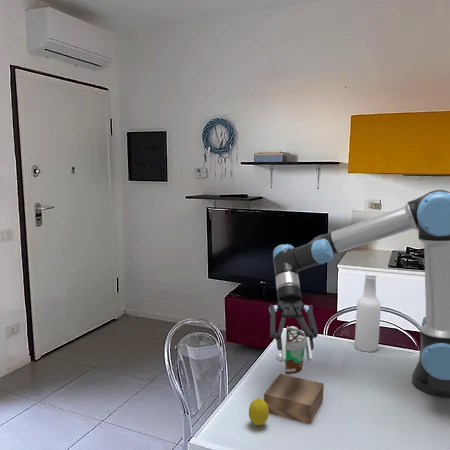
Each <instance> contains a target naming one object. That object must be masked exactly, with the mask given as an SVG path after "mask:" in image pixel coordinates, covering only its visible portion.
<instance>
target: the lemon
mask: <svg viewBox="0 0 450 450" xmlns="http://www.w3.org/2000/svg"><path fill="white" fill-rule="evenodd" d="M269 414H270V413H269V409H268V405H267V403H266V402H265V401H264V399H262V398H259V397H258V398H255V399H253V400H252V401H251V402H250V404H249V408H248V417H249V420H250V422H252V423H253V424H254V425H255V426H256V425H257V426H261V425H264V424H265V423H267V422H268V419H269V416H270V415H269Z"/></svg>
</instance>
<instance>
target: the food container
mask: <svg viewBox="0 0 450 450" xmlns="http://www.w3.org/2000/svg"><path fill="white" fill-rule="evenodd" d="M300 330H301V329H298V330H297V329H294V328H287V327H286V330H285V331H286V336H285V343H286V361H285V362H284V365H285V366H284V367H285V369H284V371H285V372H284V373H285V374H284V375H293V374H298V373H300V372H302V370H303V366H304V356H305V350H306V346H307V344H308V342H307V337H306V335H305V333H304V332H303V330H302V331H300Z"/></svg>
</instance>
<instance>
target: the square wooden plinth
mask: <svg viewBox="0 0 450 450" xmlns="http://www.w3.org/2000/svg"><path fill="white" fill-rule="evenodd" d="M324 386H325V383H323V382H319V381H313V380H309V379H306V378H302V377H296V376H292V375H290V374H284V373H279V374H278V375H277V377H276V378H275V379H274V380H273V382H272V383H271V384H270V385H269V387H268V388H267V389H266V391H265V392H264V393H263V400H264V401H265V402H266V403H267V405H268V409H269V414H271V415H273V416H278V417H280V418H285V419H289V420H293V421H296V422H300V423H302V424H303V423H304V424H306V425H312V422H313V421H314V419H315V417H316V415H317V413H318V411H319V409H320V407H321V406H320V405H323V404H322V403H323V402H322V401H324V388H325V387H324Z"/></svg>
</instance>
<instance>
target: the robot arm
mask: <svg viewBox="0 0 450 450" xmlns="http://www.w3.org/2000/svg"><path fill="white" fill-rule="evenodd" d="M411 230H416V231H417V232H418V240H419V241H420V242H421V243H422V244H423V246H424V247H423V248H424V249H423V250H424V286H425V287H424V291H425V292H424V293H425V316H424V317H423V318H422V323H421V327H420V345H419V346H420V347H419V348H420V349H419V359H418V362H417V364H416V366H415V368H414V370H413V372H412V374H411V375H412V377H411V383H412V385H413V386H414V387H415V388H417V389H418V390H419V391H421V392H423V393H426V394H429V395H432V396H437V397H440V398H441V397H442V398H450V191H448V190H445V189H435V190H431V191H430V192H428V193H425V194H423V195H421V196H419V197H417V198H415V199H413V200H410V201H407V202H406V204H405V205H404V206H402V207H399V208H396V209H393V210H391V211H388V212H385V213H383V214H380V215H377V216H373V217H370V218H369V219H365V220H363V221H359V222H356V223H353V224H351V225H348V226H345V227H342V228H339V229H337V230H334V231H331V232H328V233H325V234H320V235H319V234H318V235H317V236H315V237H314V238H313V239H312V240H310V241H309V242H308V243H306V244H303V245H301V246H298V247H294V246H293V245H292V244H288V243H286V244H279V245H277V246H276V247H274V249H273V251H272V257H273V259H272V263H273V269H274V278H275V287H276V296H277V304H275V305H273V304H270V305H269V307H268V311H269V316H270V318H269V319H270V320H269V321H270V322H269V338H270V339H275V341H276V348H277V351H280V352H281V355H282V360H281V363H285V361H286V352H285V343H286V342H285V337H283V336H282V334H283V330H284V327H285V324H286V319H290V318H293V319H295V320H296V321H297V322H298V324H299V326H300V328H301V330H302V332H303V333H305V335H306V337H307V342H308V344H307V346H306V347H305V350H306V357H307V362H308V363H310V362H311V361H312V360H313V354H312V351H313V350H314V347H315V346H314V344H315V343H314V339H315V338H317V337H318V335H319V331H318V327H317V324H316V323H317V322H316V320H315V317H314V316H315V315H314V313H313V311H314V305H312V304H309V305H307V304H304V302H303V297H302V291H301V284H300V278H299V272H300V271H303V270H306V269H309V268H312V267H315V266H316V267H317V266H320V265H325V263H328V262H331V261H333V259H334V255H337V254H339V253H341V252H346V251H349V250H351V249H354V248H357V247H361V246H365V245H367V244H369V243H370V244H371V243H373V242H377V241H379V240H382V239H386V238H389V237H392V236H395V235H398V234H401V233H404V232H407V231H411ZM303 310H304V311H305V313H306V314H307V315H306V316H307V321H308V323H307V322H306V320H305V317H304V315H303V312H302V311H303ZM277 311H278V312H280V313H281V320H280V323H279V327H278V330H277V332H276V314H277ZM308 324H309V325H308Z"/></svg>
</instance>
